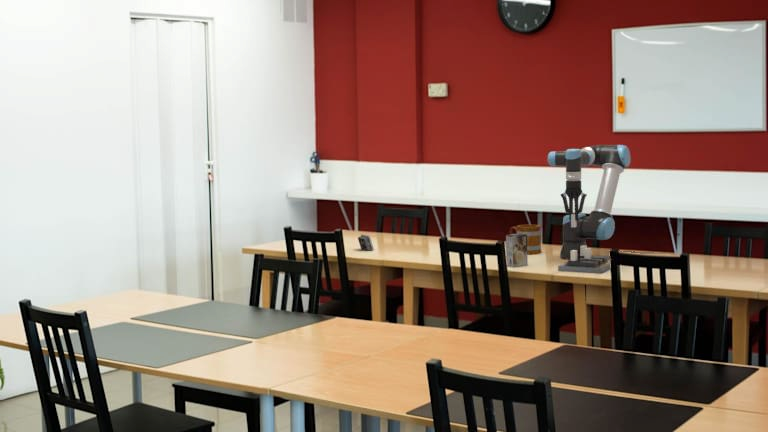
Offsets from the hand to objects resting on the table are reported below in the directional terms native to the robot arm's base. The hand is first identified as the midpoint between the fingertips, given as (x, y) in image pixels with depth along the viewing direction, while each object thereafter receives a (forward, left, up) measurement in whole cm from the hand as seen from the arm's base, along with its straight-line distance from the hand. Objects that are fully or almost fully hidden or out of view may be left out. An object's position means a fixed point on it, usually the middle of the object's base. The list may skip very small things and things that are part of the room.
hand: (573, 226), depth 512 cm
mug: (-37, -40, -21) cm, 58 cm away
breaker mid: (0, +7, -16) cm, 17 cm away
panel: (0, +7, -20) cm, 22 cm away
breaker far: (-8, +3, -16) cm, 18 cm away
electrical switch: (-17, -129, -21) cm, 132 cm away
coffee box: (+4, -29, -21) cm, 36 cm away
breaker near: (+8, +3, -16) cm, 18 cm away
